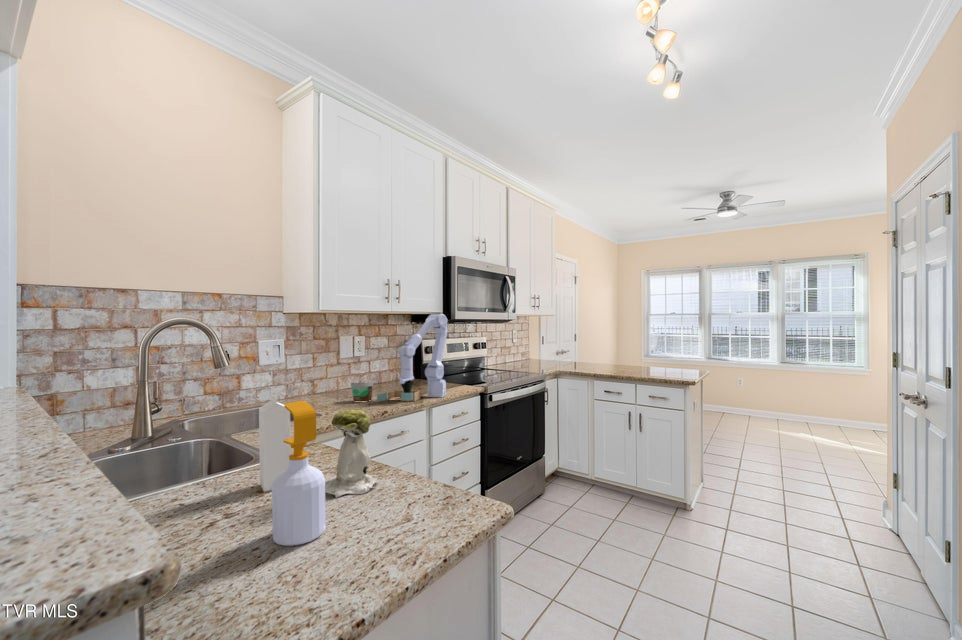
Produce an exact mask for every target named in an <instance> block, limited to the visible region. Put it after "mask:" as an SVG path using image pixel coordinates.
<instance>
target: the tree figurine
mask: <svg viewBox="0 0 962 640" xmlns="http://www.w3.org/2000/svg"><path fill="white" fill-rule="evenodd" d="M331 425H332V426H333V427H334V428H336V429H337V430H339V431H341V433H343V435H342V436H344V437H343V441H342V443H341V445H340V449H339V453H338V459H337V465H336V471H337V472H336V474H335V475H333V476H331V478H325V494H326V493H327V494H330V495H334V496H335V498H339V497H341V496H343V495H345V494H352V495H364V494H365V493H368V492H369V491H370V489H372V488H373V486H374V488H376V485H375V484H378V483H379V478H377V477H378V476H377V474H371V475H370V474H368V473H367V469H368V466H370V463H371V461H372V460H371V457H370V453H369V452H370V451H371V448H368V446H367V443H366V440H365V437H364V434H367V433H368V432H369V430H370V427H371V419H370V418H369V416H368V415H367V413H366V412H364V411H363V410H359V409H352V408H351V409H345V410H342V411H340V412H337V413H335V414H334V416H333V418H332V420H331ZM363 493H364V494H363Z"/></svg>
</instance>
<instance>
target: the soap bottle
mask: <svg viewBox="0 0 962 640" xmlns="http://www.w3.org/2000/svg"><path fill="white" fill-rule="evenodd" d="M284 405H285V406H284V407H285V408H286V409H287V410H288V411H289V412H290V415H292V417H293V437H290V438H287V439H284V443H287V444H290V445H291V449H293V453H291V455H289V468H288V469H287V470H285V471H284V472H282V473H281V474H280V475H279V476H278V477H277V478H276V479H275V480H274V482H273V485H272V490H271V500H272V503H271V504H272V505H271V506H272V507H271V508H272V510H271V511H272V513H271V514H272V515H271V516H272V517H271V519H272V539H273V542H274V543H276V544H277V545H279V546H284V547H292V546H294V545H295V546H300V545H303V544H307V543H309V542H312V541H314V540H316V539H318V538H320V536H322V535H323V534H324V532H325V531H326V528H327V527H326V526H327V525H326V523H327V522H326V519H327V516H326V512H327V511H326V492H325V480H326V478H325V475H324V473H323V472H322V471H321V470H320V469H318V468H317V467H315V466H312V465H310V464H309V452H306V451H304V448H305V447H306V446H307V443H309V442H312V441H315V440H316V439H317V413H316V410H315V408H314V407H313V406H312V405H311V404H310V403H308V402H307V401H306V400H305V401H304V400H299V401H293V402H286V403H284Z"/></svg>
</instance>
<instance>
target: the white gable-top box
mask: <svg viewBox="0 0 962 640" xmlns="http://www.w3.org/2000/svg"><path fill="white" fill-rule="evenodd" d="M284 406H285V404H283V403H280V402H278V398H277V396H276V395H275V394H271V400H269V401H268V402H266V403H264V404H263V405H262V406H260V407H259V408H258V429H259V430H258V432H259V436H258V442H259V443H258V444H259V447H258V448H259V449H258V451H259V485H260V487H261V489H262V491H263V492H264V493H266V492H272V485H273V482H274V480H275V479H276V478H277V477H278V476H279V475H280V474H281V473H282V472H284V471H285V470H287V469H288V468H289V455H291V454H292V453H291V452H292V451H291V449H292V448H291V445H290V444H287V443H284V439H287V438H291V413H290V412H289V411H288V410H287V409H286V408H285V407H284Z"/></svg>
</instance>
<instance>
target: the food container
mask: <svg viewBox="0 0 962 640" xmlns="http://www.w3.org/2000/svg"><path fill="white" fill-rule="evenodd" d="M373 386H374V382H373V381H367V382H354V380H353V381H351V382H350V387H351V389H352V391H351V392H352V399H353V400H354V401H369V400H371V401H372V396H373V395H372V394H373ZM353 400H352V401H353Z"/></svg>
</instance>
